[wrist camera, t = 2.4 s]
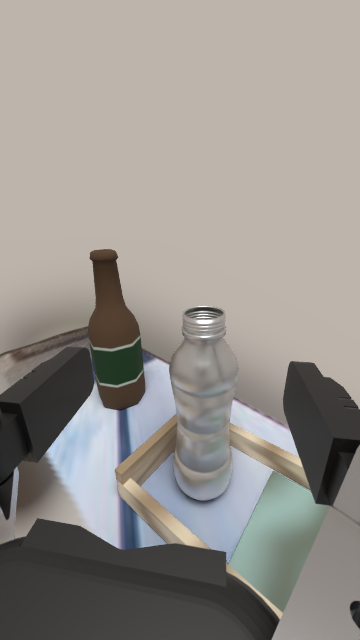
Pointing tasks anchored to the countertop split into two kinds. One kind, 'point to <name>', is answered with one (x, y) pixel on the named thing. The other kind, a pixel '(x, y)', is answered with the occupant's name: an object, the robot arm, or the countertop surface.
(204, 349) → the plastic bottle
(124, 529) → the countertop surface
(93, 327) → the beer bottle
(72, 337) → the countertop surface
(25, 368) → the countertop surface
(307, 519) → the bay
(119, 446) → the countertop surface
